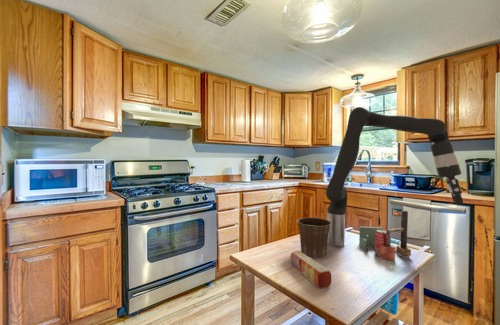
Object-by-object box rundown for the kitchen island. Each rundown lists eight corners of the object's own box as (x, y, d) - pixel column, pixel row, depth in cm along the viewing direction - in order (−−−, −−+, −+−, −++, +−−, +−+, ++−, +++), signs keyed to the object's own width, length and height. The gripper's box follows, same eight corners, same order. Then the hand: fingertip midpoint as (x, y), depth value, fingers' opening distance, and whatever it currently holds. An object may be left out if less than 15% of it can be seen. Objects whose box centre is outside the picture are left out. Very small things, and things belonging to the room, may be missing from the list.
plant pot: (290, 253, 117) (291, 221, 116) (306, 244, 129) (306, 215, 128) (321, 263, 106) (322, 228, 105) (335, 253, 118) (336, 221, 117)
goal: (366, 251, 121) (366, 232, 121) (359, 244, 130) (359, 226, 130) (390, 252, 120) (391, 233, 120) (381, 245, 129) (382, 227, 129)
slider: (381, 259, 111) (382, 213, 110) (373, 252, 119) (374, 209, 119) (415, 261, 109) (416, 214, 109) (404, 253, 118) (406, 210, 117)
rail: (403, 258, 113) (403, 256, 113) (387, 246, 128) (387, 244, 128) (409, 258, 113) (409, 256, 113) (393, 246, 128) (393, 244, 128)
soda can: (388, 253, 118) (389, 229, 118) (392, 259, 112) (392, 234, 112) (372, 251, 121) (373, 228, 121) (375, 256, 114) (376, 232, 114)
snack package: (289, 264, 104) (289, 249, 104) (302, 263, 107) (302, 248, 106) (317, 290, 84) (317, 272, 84) (332, 287, 86) (333, 269, 86)
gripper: (434, 167, 107) (445, 202, 105) (437, 167, 96) (449, 207, 93) (455, 163, 103) (467, 200, 101) (461, 163, 91) (474, 204, 89)
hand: (458, 203), depth 97 cm, fingers open, 8 cm apart
